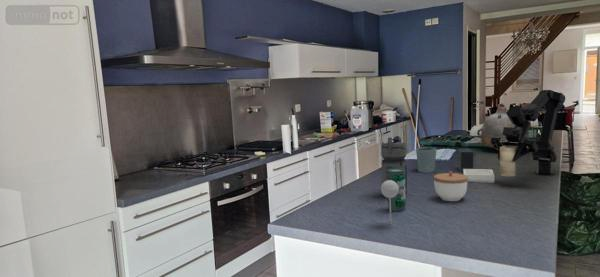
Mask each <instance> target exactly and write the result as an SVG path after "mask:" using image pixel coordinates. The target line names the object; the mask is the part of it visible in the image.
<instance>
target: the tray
mask: <svg viewBox="0 0 600 277" xmlns="http://www.w3.org/2000/svg"><path fill="white" fill-rule="evenodd" d="M462 174H463V175H466V176H467V177H468V180H467V183H477V184H478V183H481V184H485V183H486V184H495V173H494V171H493V169H489V168H488V169H486V168H485V169H483V168H482V169H481V168H479V169H478V168H473V169H463V172H462Z"/></svg>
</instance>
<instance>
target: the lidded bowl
mask: <svg viewBox="0 0 600 277" xmlns="http://www.w3.org/2000/svg"><path fill="white" fill-rule="evenodd" d="M433 180H434V181H433V183H434V189H435V192H436V195H438V197H440V199H441V200H442V201H445V202H458V201H461V199H462V198H463V197H464V196H465V195H466V193H467V190H468V182H467V180H468V177H467V176H466V175H463V173H455V172H454V173H453V171H452V170H451V171H448V172H447V173H444V172H443V173H437V174H434V176H433Z"/></svg>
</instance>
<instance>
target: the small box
mask: <svg viewBox="0 0 600 277" xmlns="http://www.w3.org/2000/svg"><path fill="white" fill-rule="evenodd" d="M457 169H458V170H459V171H460V172H462V173H463V169H474V151H473V150H471V149H470V148H457Z"/></svg>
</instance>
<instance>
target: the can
mask: <svg viewBox="0 0 600 277" xmlns="http://www.w3.org/2000/svg"><path fill="white" fill-rule="evenodd" d="M388 180H392V181H394V182H396V183H397V185H398V187H399V192H398V194H397V195H396V196H395V197H393V198H391V212H403V211H405V210H406V209H407V208H406V207H407V206H406V205H407V204H406V195H405V170H404V169H401V168H391V169H388V170H387V181H388ZM387 208H388V211H390V205H389V198H387Z"/></svg>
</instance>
